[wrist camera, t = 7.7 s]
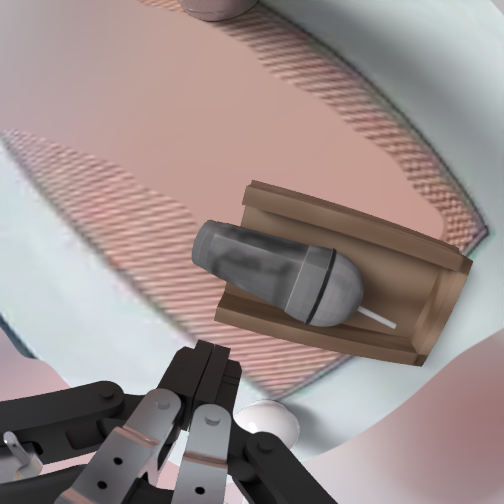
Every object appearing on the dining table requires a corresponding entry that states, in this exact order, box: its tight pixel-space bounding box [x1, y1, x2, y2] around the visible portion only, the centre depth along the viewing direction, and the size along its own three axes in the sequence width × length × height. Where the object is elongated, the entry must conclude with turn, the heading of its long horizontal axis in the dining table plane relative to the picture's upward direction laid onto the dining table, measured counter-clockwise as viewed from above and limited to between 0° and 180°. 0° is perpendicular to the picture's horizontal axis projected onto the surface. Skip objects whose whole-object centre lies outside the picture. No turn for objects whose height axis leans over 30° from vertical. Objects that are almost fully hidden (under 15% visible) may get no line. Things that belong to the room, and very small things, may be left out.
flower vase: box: [224, 400, 300, 504], centre depth 24 cm, size 13×18×25 cm
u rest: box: [214, 180, 473, 367], centre depth 27 cm, size 14×24×4 cm, turn 76°
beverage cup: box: [192, 220, 396, 329], centre depth 26 cm, size 7×7×20 cm
